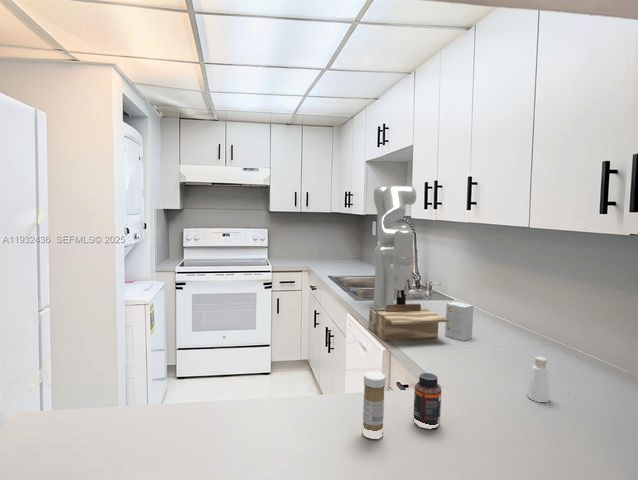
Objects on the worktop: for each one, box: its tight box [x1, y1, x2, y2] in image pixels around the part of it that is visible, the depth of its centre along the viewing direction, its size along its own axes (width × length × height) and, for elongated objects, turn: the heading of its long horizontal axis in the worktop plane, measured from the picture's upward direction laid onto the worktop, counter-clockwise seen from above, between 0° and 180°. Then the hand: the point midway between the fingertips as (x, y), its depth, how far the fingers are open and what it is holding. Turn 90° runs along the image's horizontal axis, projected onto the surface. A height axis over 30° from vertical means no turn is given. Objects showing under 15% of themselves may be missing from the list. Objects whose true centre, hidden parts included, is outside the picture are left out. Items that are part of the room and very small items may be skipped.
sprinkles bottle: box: [362, 371, 386, 431], centre depth 89 cm, size 5×5×13 cm
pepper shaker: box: [526, 356, 551, 403], centre depth 109 cm, size 5×5×11 cm
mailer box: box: [368, 308, 439, 342], centre depth 163 cm, size 16×22×8 cm
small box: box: [444, 301, 474, 342], centre depth 160 cm, size 8×6×13 cm
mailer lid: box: [376, 303, 449, 324], centre depth 156 cm, size 16×22×3 cm
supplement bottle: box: [413, 372, 442, 425], centre depth 94 cm, size 6×6×11 cm
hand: (400, 306), depth 165 cm, fingers closed
